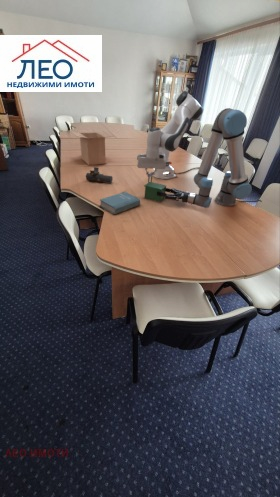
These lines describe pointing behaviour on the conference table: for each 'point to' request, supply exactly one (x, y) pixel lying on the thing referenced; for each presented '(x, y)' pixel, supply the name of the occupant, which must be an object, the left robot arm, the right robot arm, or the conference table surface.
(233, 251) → the conference table surface
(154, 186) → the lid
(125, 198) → the book
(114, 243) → the conference table surface
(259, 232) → the conference table surface
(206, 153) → the right robot arm
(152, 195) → the chest
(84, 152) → the box
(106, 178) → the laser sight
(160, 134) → the left robot arm
